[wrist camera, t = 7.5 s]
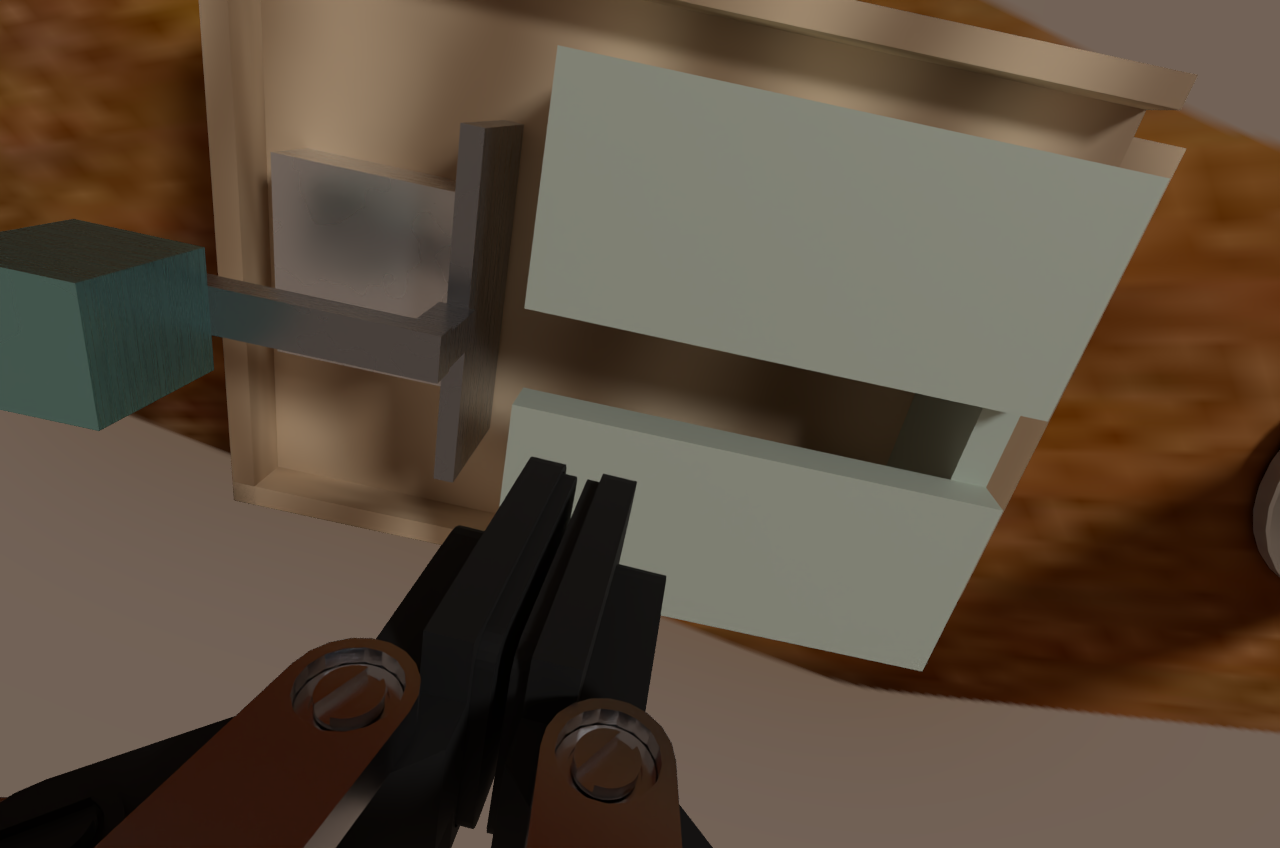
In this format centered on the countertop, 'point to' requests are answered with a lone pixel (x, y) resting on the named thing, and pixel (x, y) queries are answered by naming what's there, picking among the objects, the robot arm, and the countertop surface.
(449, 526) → the shallow beige tray
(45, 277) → the bar
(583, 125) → the pale green panels
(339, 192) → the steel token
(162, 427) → the countertop surface
